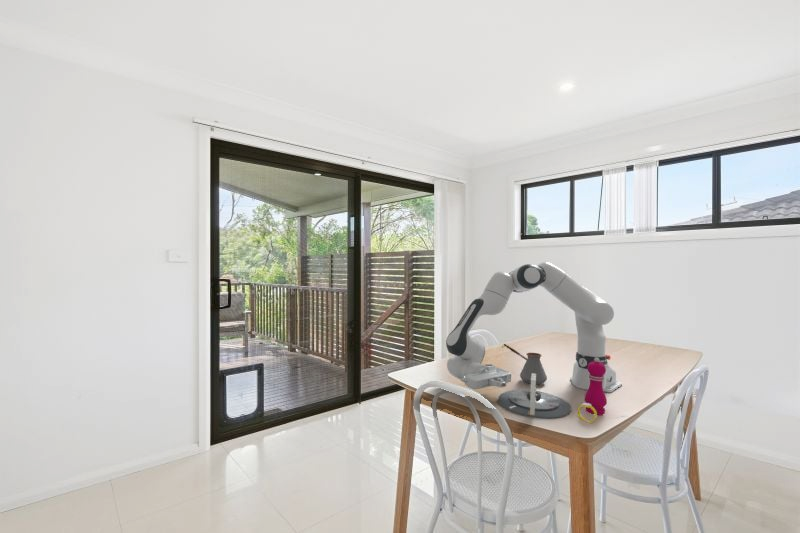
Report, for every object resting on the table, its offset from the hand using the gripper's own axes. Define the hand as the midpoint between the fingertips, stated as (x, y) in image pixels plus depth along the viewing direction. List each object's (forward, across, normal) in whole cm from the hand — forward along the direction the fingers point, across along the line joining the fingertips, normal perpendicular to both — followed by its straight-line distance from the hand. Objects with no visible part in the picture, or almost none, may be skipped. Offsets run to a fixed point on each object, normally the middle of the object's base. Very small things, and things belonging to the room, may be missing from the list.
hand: (503, 384), depth 142 cm
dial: (+6, +9, +7) cm, 13 cm away
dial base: (+4, +12, +8) cm, 15 cm away
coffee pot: (-18, +32, +8) cm, 38 cm away
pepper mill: (+20, +26, +8) cm, 34 cm away
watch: (+23, +16, +8) cm, 29 cm away
